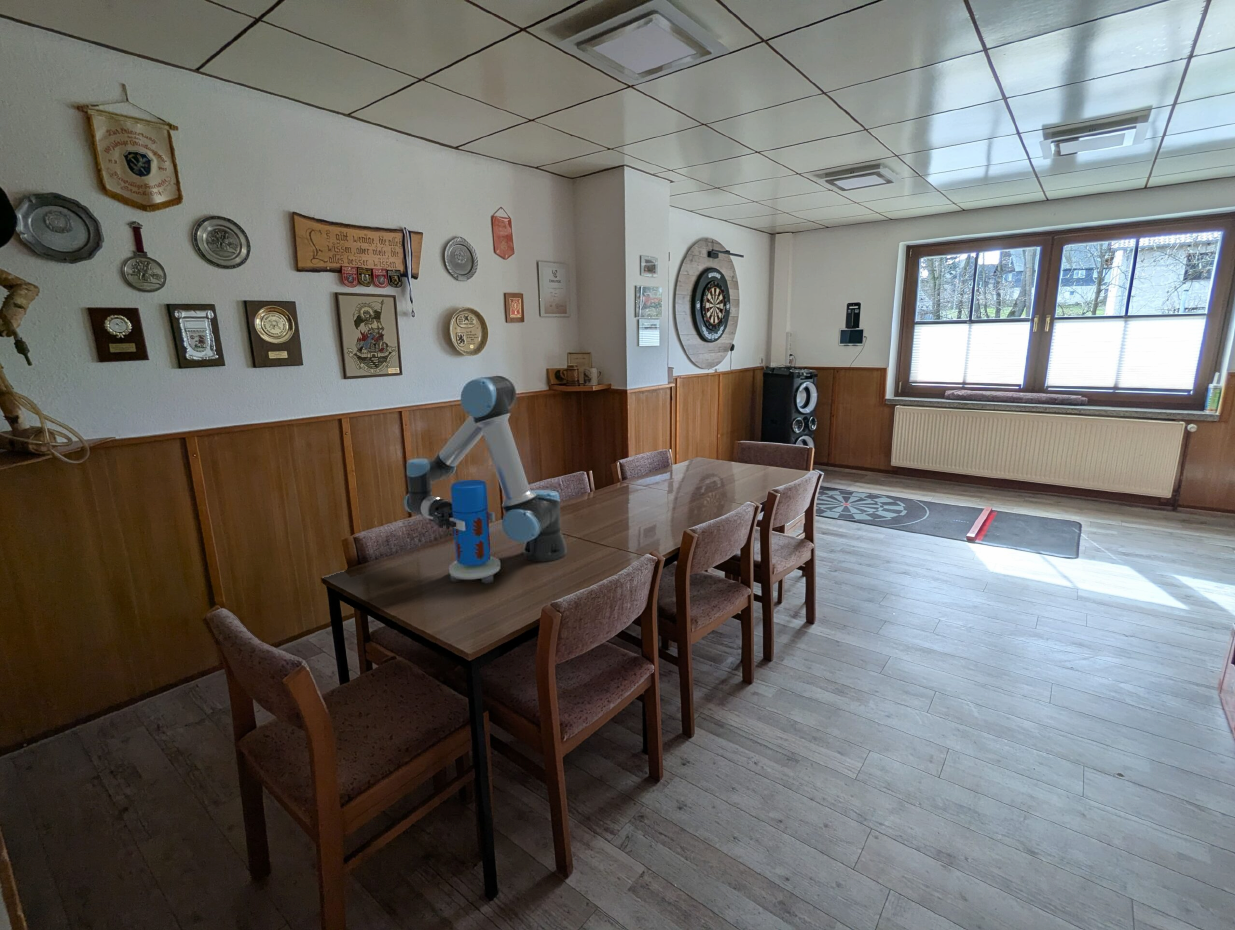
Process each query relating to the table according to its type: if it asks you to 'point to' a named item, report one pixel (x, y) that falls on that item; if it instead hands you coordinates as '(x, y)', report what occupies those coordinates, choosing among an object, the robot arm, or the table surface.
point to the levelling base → (475, 571)
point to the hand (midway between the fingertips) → (479, 521)
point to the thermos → (471, 522)
